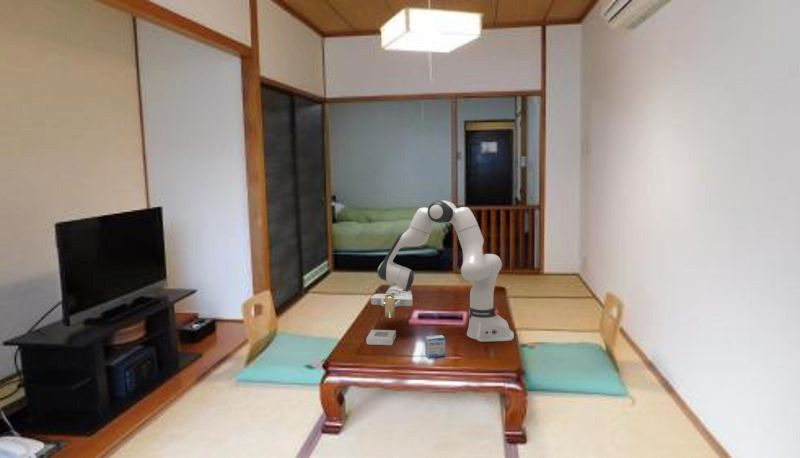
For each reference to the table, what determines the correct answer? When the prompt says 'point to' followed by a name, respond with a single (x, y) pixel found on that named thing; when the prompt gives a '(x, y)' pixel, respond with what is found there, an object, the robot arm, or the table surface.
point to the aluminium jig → (381, 337)
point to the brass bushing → (389, 306)
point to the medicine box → (434, 346)
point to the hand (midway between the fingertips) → (389, 304)
